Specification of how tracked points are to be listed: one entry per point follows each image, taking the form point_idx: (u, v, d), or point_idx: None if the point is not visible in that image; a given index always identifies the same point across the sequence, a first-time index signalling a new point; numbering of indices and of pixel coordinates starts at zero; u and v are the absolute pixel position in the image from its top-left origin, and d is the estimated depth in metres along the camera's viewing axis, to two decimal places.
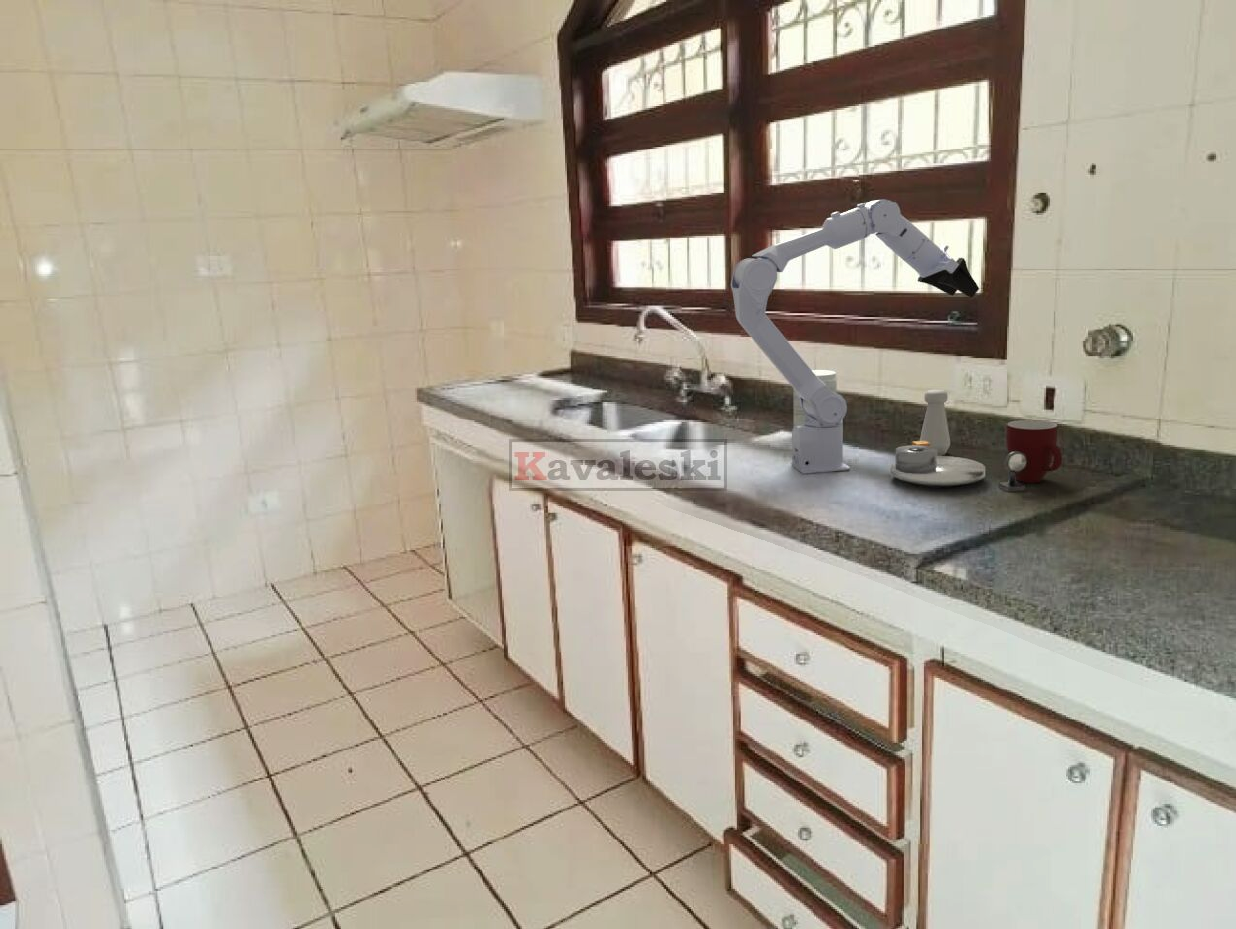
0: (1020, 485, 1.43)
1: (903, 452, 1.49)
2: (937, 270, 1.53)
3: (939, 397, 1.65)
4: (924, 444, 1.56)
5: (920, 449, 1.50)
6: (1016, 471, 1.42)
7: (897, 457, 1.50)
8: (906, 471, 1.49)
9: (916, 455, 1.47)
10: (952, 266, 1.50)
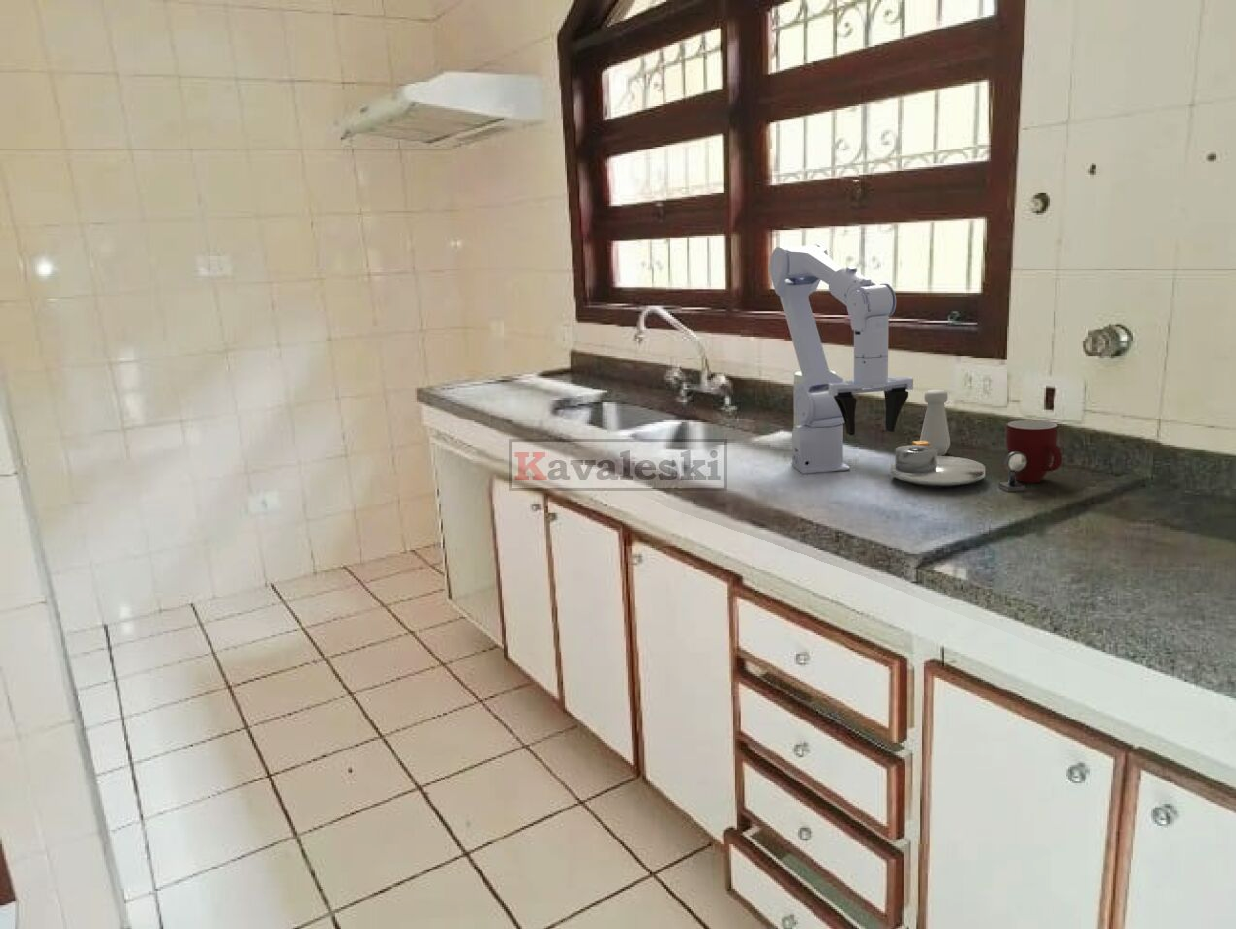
0: (1020, 485, 1.43)
1: (903, 452, 1.49)
2: None
3: (939, 397, 1.65)
4: (924, 444, 1.56)
5: (920, 449, 1.50)
6: (1016, 471, 1.42)
7: (897, 457, 1.50)
8: (906, 471, 1.49)
9: (916, 455, 1.47)
10: (830, 390, 1.46)
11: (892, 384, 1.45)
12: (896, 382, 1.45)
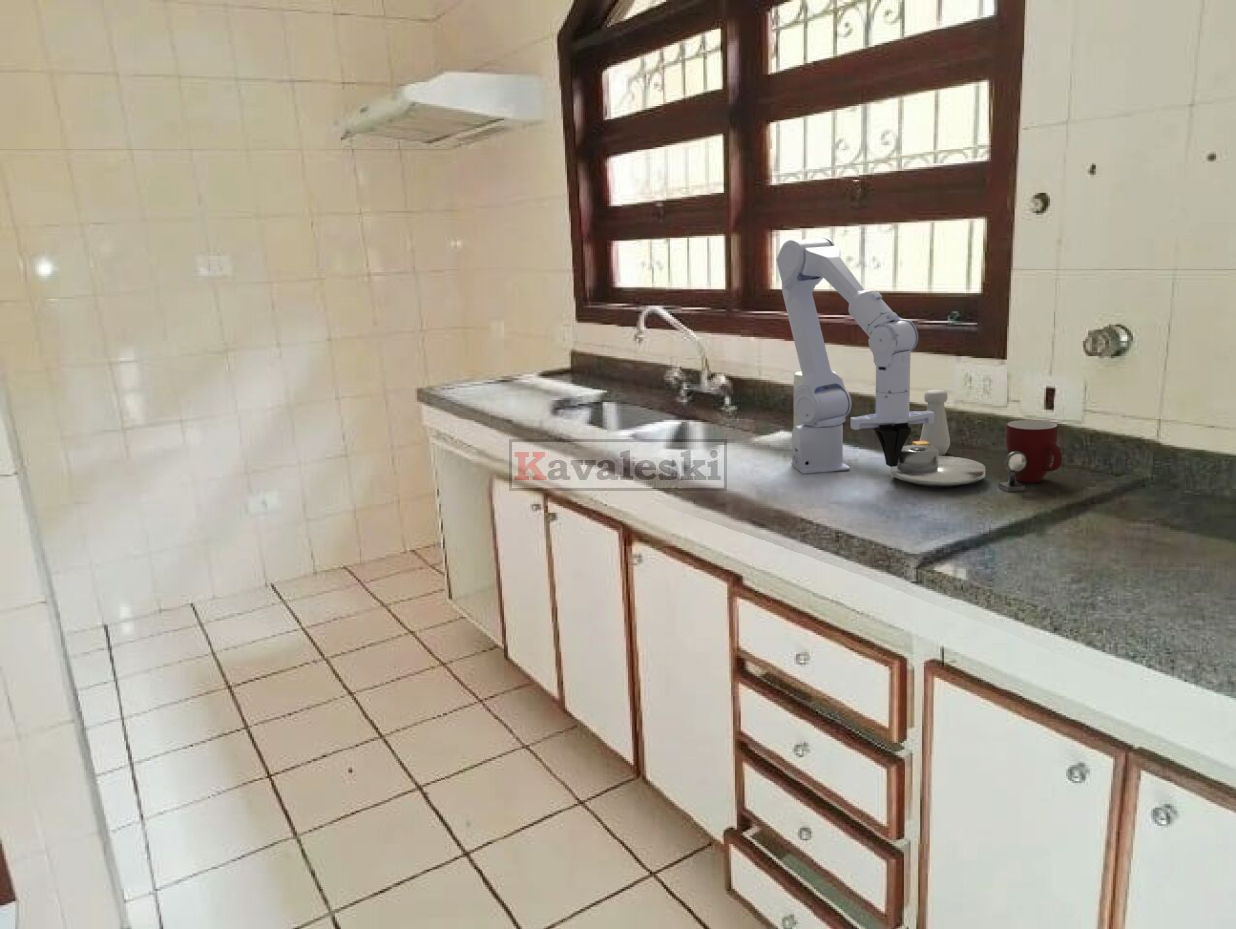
0: (1020, 485, 1.43)
1: (905, 452, 1.49)
2: None
3: (939, 397, 1.65)
4: (924, 444, 1.56)
5: (922, 449, 1.50)
6: (1016, 471, 1.42)
7: (899, 457, 1.50)
8: (908, 471, 1.49)
9: (918, 455, 1.47)
10: (852, 424, 1.48)
11: (914, 418, 1.46)
12: (917, 416, 1.47)
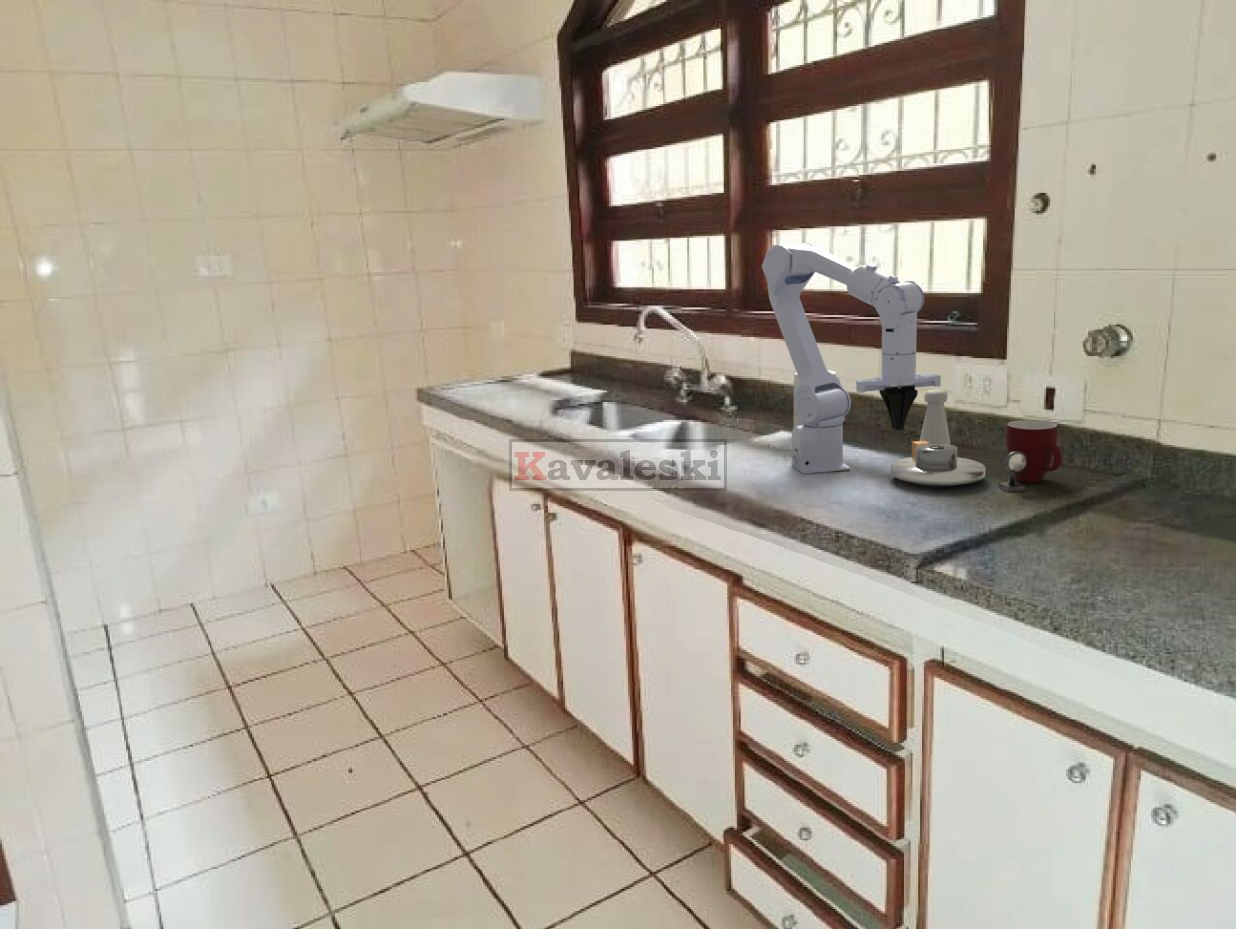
0: (1020, 485, 1.43)
1: (923, 450, 1.49)
2: (869, 380, 1.49)
3: (939, 397, 1.65)
4: None
5: (940, 447, 1.50)
6: (1016, 471, 1.42)
7: (917, 455, 1.50)
8: (926, 469, 1.49)
9: (937, 453, 1.47)
10: (858, 387, 1.47)
11: (920, 381, 1.46)
12: (924, 379, 1.46)
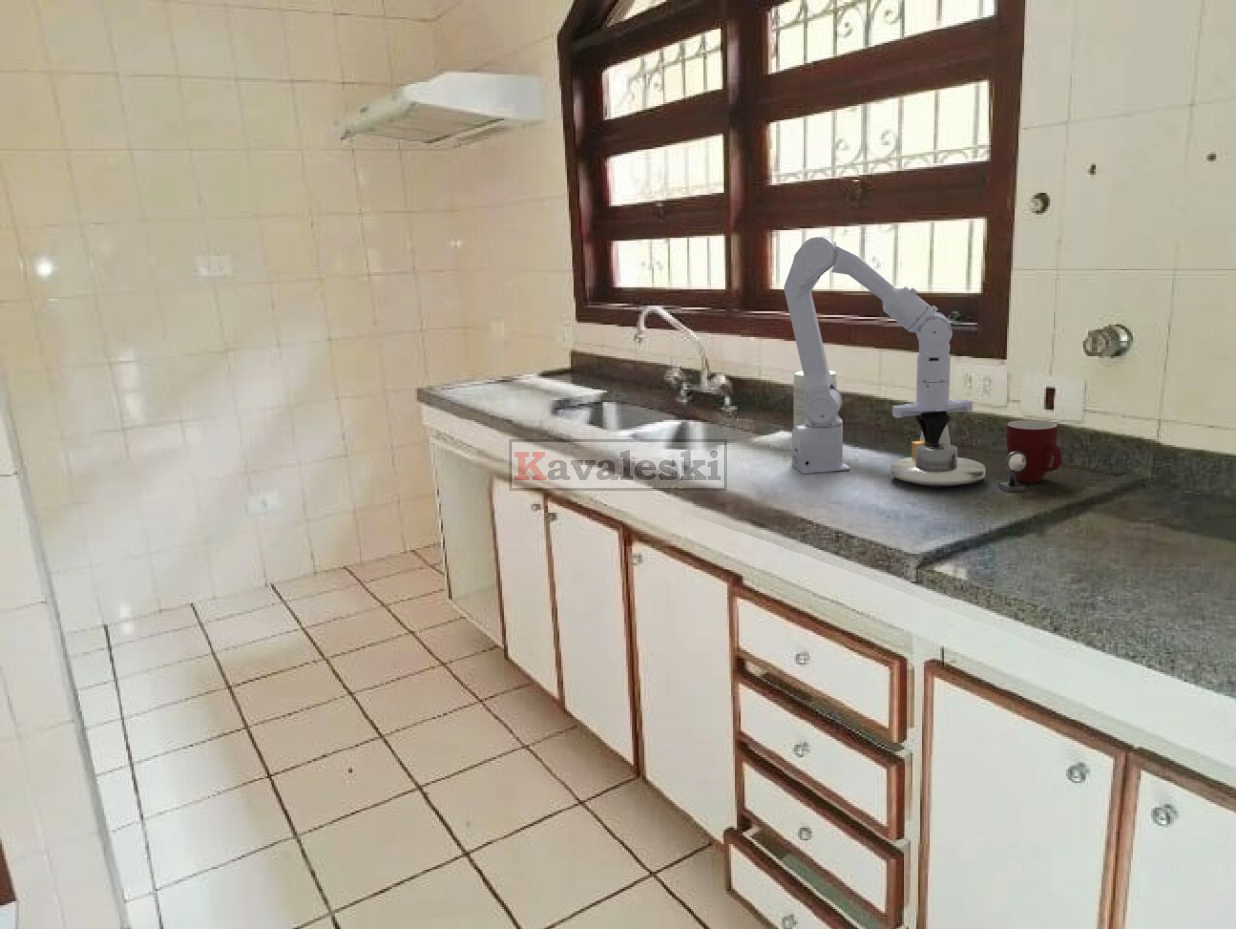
0: (1020, 485, 1.43)
1: (924, 450, 1.49)
2: (904, 406, 1.57)
3: None
4: None
5: (940, 447, 1.50)
6: (1016, 471, 1.42)
7: (917, 455, 1.50)
8: (927, 469, 1.49)
9: (937, 453, 1.47)
10: (894, 412, 1.55)
11: (953, 407, 1.54)
12: (957, 405, 1.54)
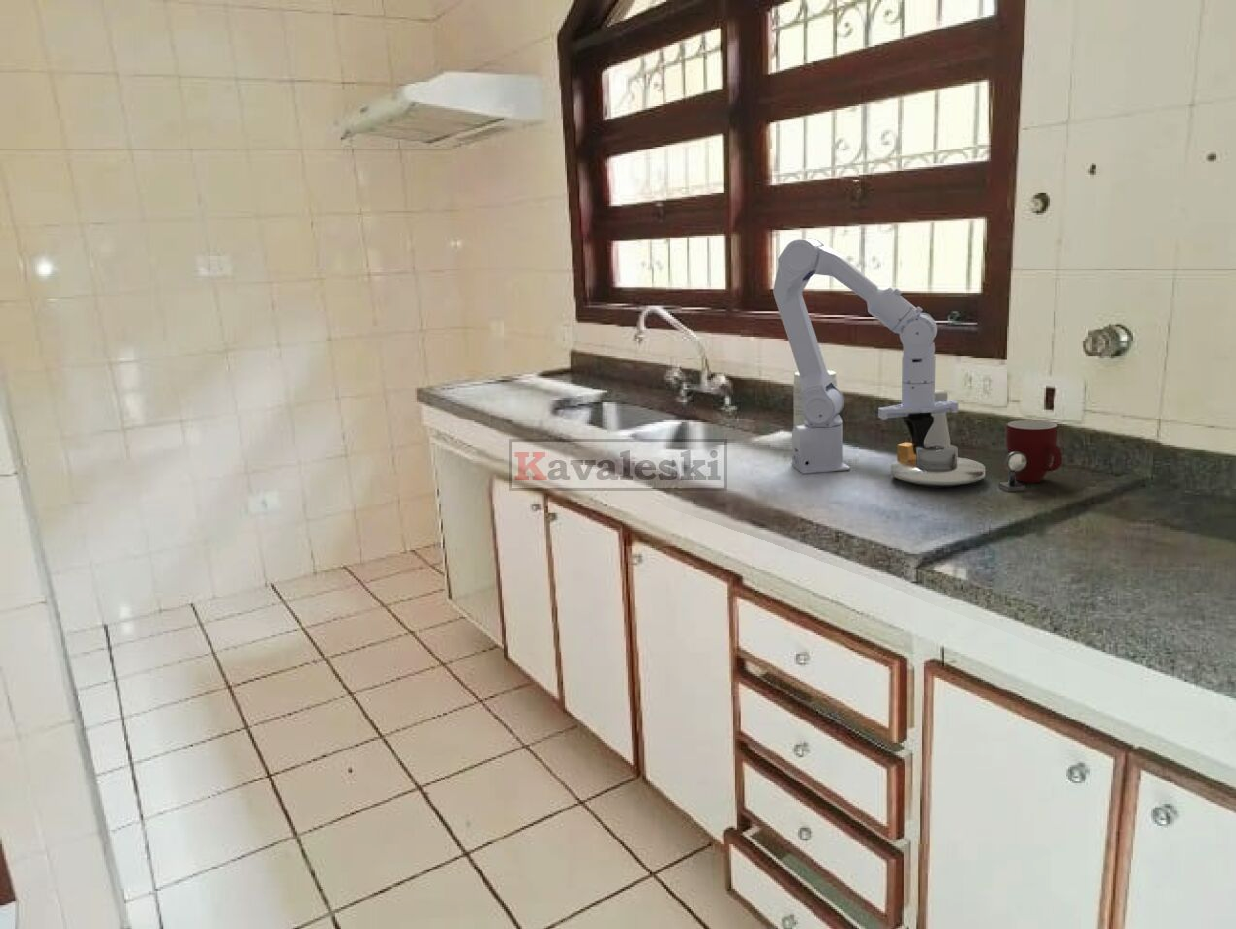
0: (1020, 485, 1.43)
1: (931, 451, 1.48)
2: (890, 407, 1.56)
3: (939, 397, 1.65)
4: (912, 446, 1.55)
5: (941, 447, 1.50)
6: (1016, 471, 1.42)
7: (924, 457, 1.49)
8: (936, 470, 1.48)
9: (946, 453, 1.47)
10: (880, 414, 1.54)
11: (939, 408, 1.53)
12: (943, 406, 1.53)
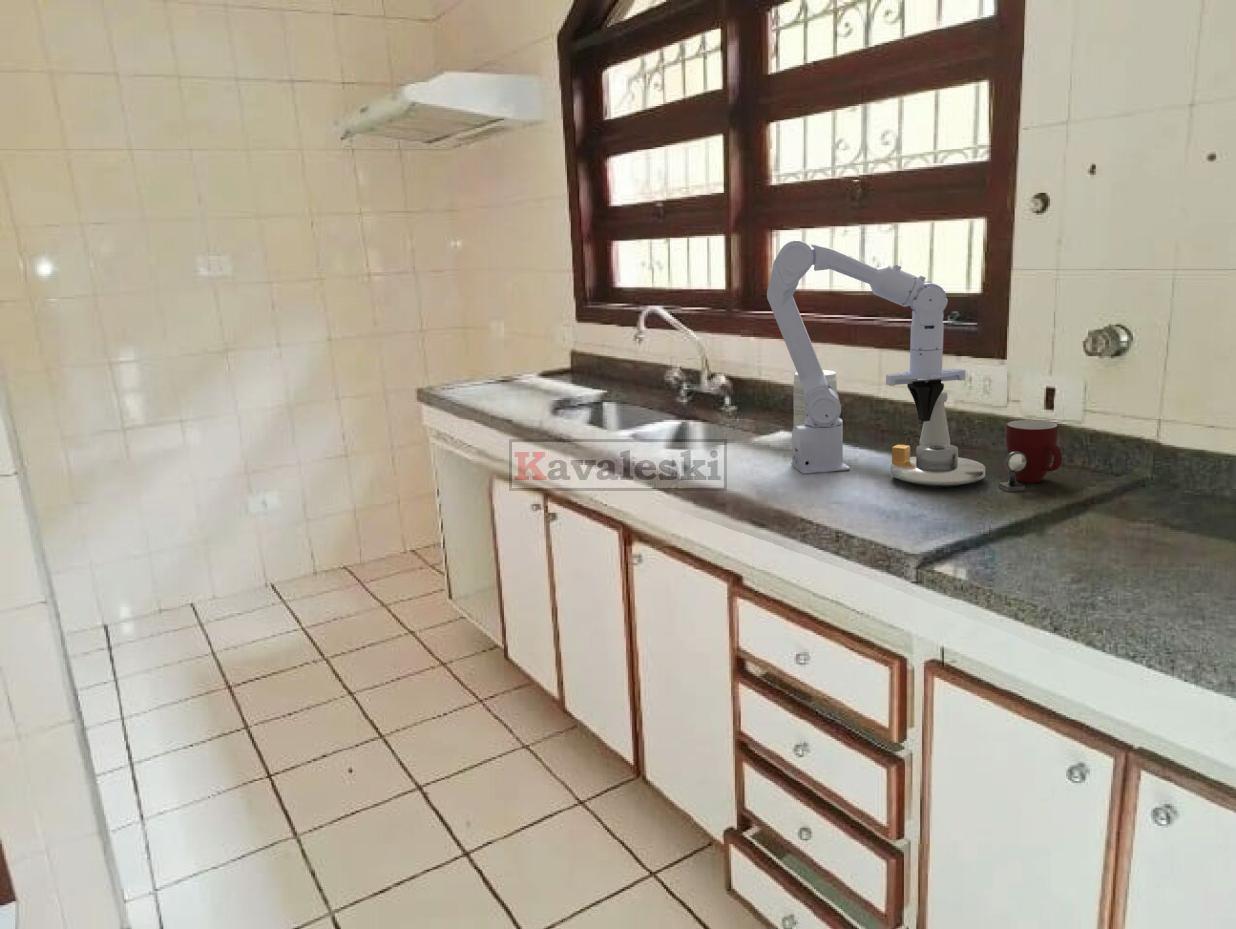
0: (1020, 485, 1.43)
1: (936, 452, 1.48)
2: None
3: (939, 397, 1.65)
4: (907, 447, 1.54)
5: (941, 447, 1.50)
6: (1016, 471, 1.42)
7: (929, 458, 1.48)
8: (942, 470, 1.48)
9: (951, 452, 1.47)
10: (887, 380, 1.57)
11: (946, 375, 1.55)
12: (950, 373, 1.55)
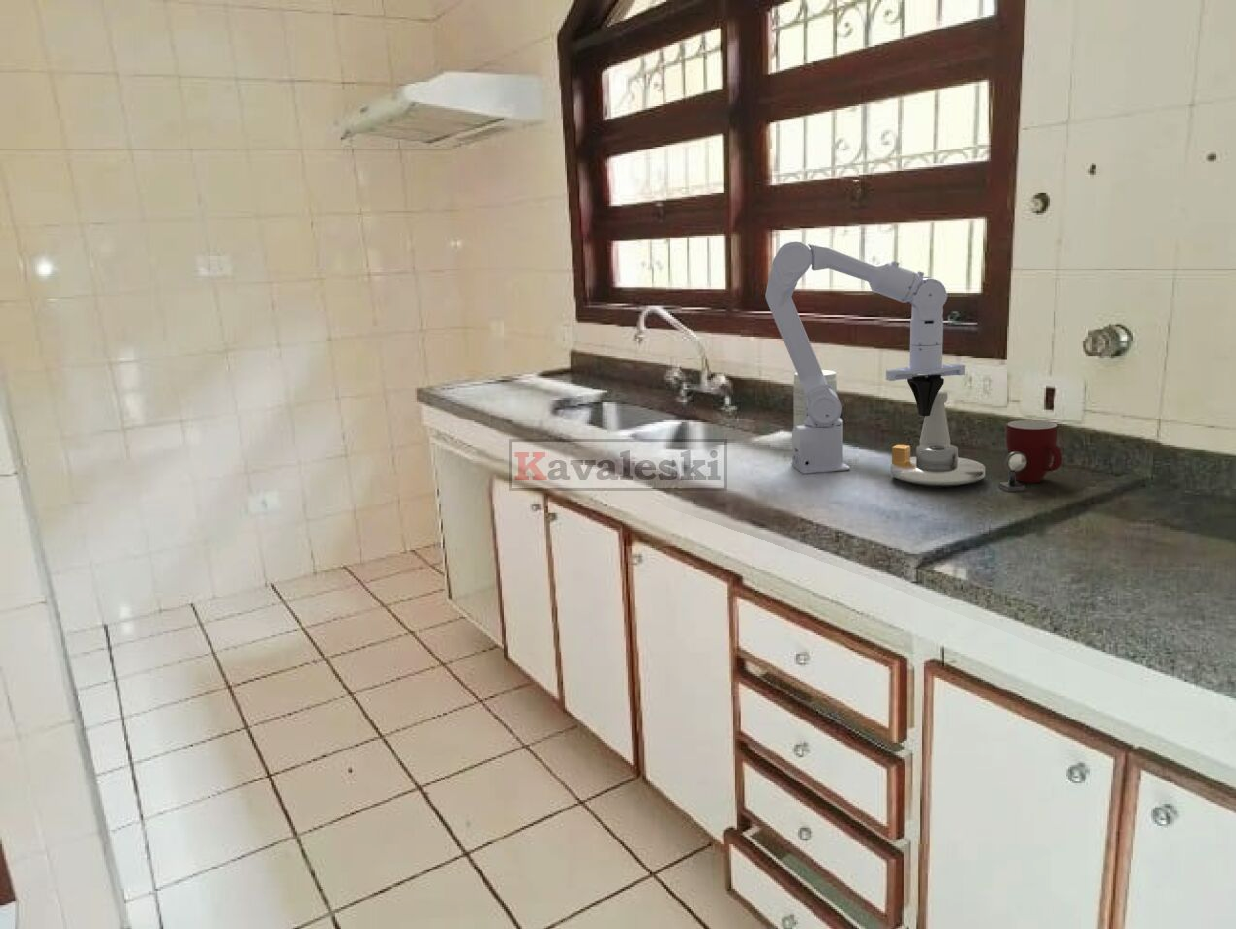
0: (1020, 485, 1.43)
1: (936, 452, 1.48)
2: None
3: (939, 397, 1.65)
4: (907, 447, 1.54)
5: (941, 447, 1.50)
6: (1016, 471, 1.42)
7: (929, 458, 1.48)
8: (942, 470, 1.48)
9: (951, 452, 1.47)
10: (887, 376, 1.57)
11: (946, 370, 1.55)
12: (950, 368, 1.56)
